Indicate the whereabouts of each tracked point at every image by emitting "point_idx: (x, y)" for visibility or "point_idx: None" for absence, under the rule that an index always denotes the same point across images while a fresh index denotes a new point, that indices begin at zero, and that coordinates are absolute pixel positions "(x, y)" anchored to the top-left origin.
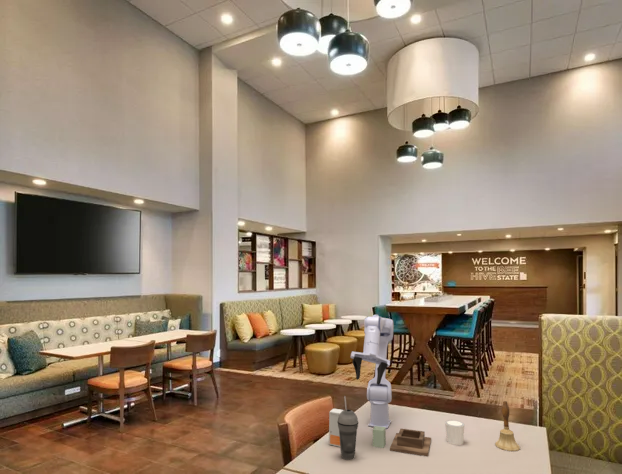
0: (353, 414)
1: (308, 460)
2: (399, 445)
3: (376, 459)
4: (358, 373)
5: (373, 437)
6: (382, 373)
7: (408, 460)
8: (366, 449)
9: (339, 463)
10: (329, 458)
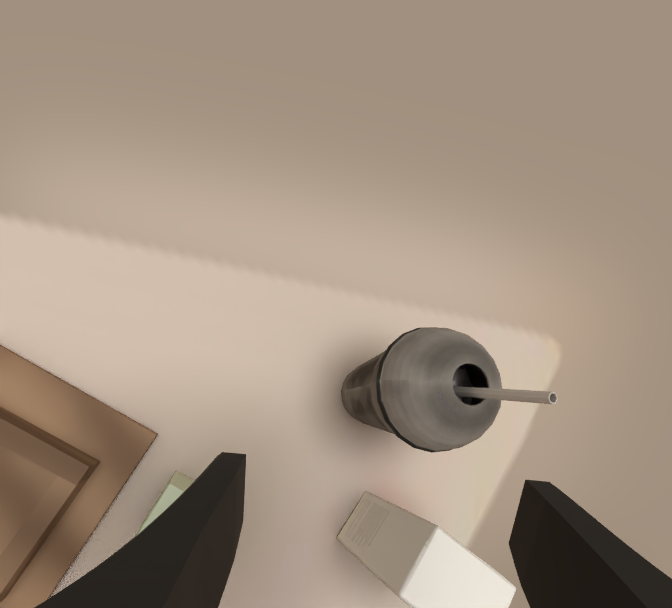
0: (434, 350)
1: None
2: (89, 455)
3: (257, 353)
4: (584, 511)
5: None
6: (146, 540)
7: (117, 318)
8: (266, 463)
9: None
10: None
